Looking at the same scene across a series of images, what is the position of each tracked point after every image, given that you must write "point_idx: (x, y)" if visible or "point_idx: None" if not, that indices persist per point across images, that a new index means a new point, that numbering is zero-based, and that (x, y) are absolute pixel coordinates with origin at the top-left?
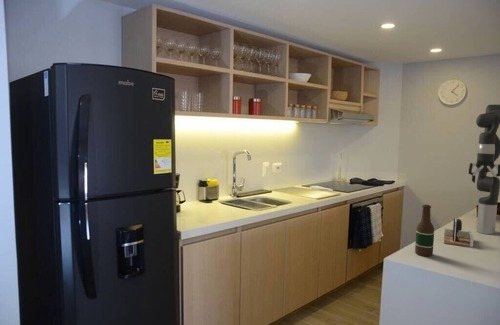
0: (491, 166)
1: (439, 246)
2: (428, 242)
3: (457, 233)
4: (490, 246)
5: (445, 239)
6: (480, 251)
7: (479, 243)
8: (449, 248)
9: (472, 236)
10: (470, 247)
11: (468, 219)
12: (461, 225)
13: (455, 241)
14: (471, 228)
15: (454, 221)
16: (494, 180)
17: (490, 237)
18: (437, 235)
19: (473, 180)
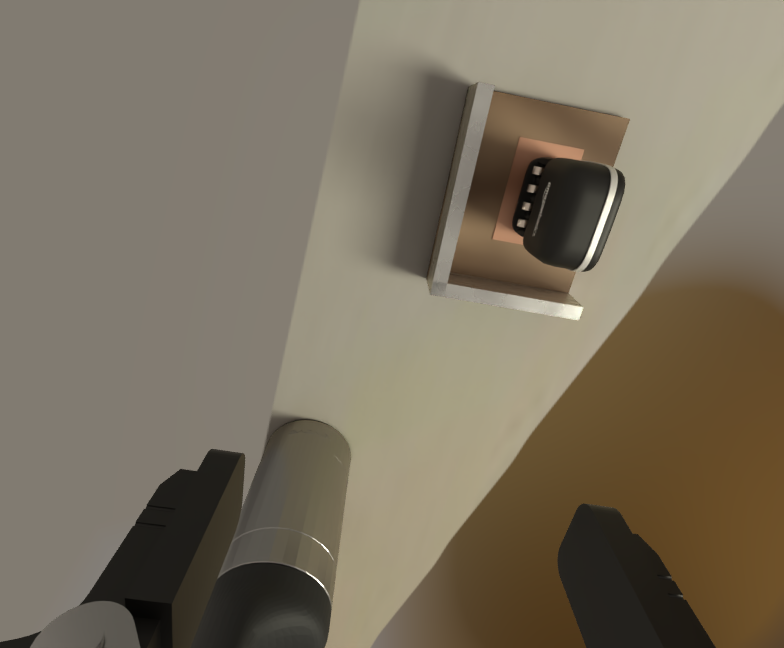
0: None
1: (682, 32)
2: None
3: (506, 287)
4: (350, 169)
5: None
6: (443, 12)
7: (398, 214)
8: (630, 5)
9: (459, 171)
10: None
11: (335, 644)
12: (559, 167)
13: None
14: (361, 503)
15: (623, 176)
16: (176, 509)
17: (305, 367)
18: (596, 303)
19: (631, 553)
